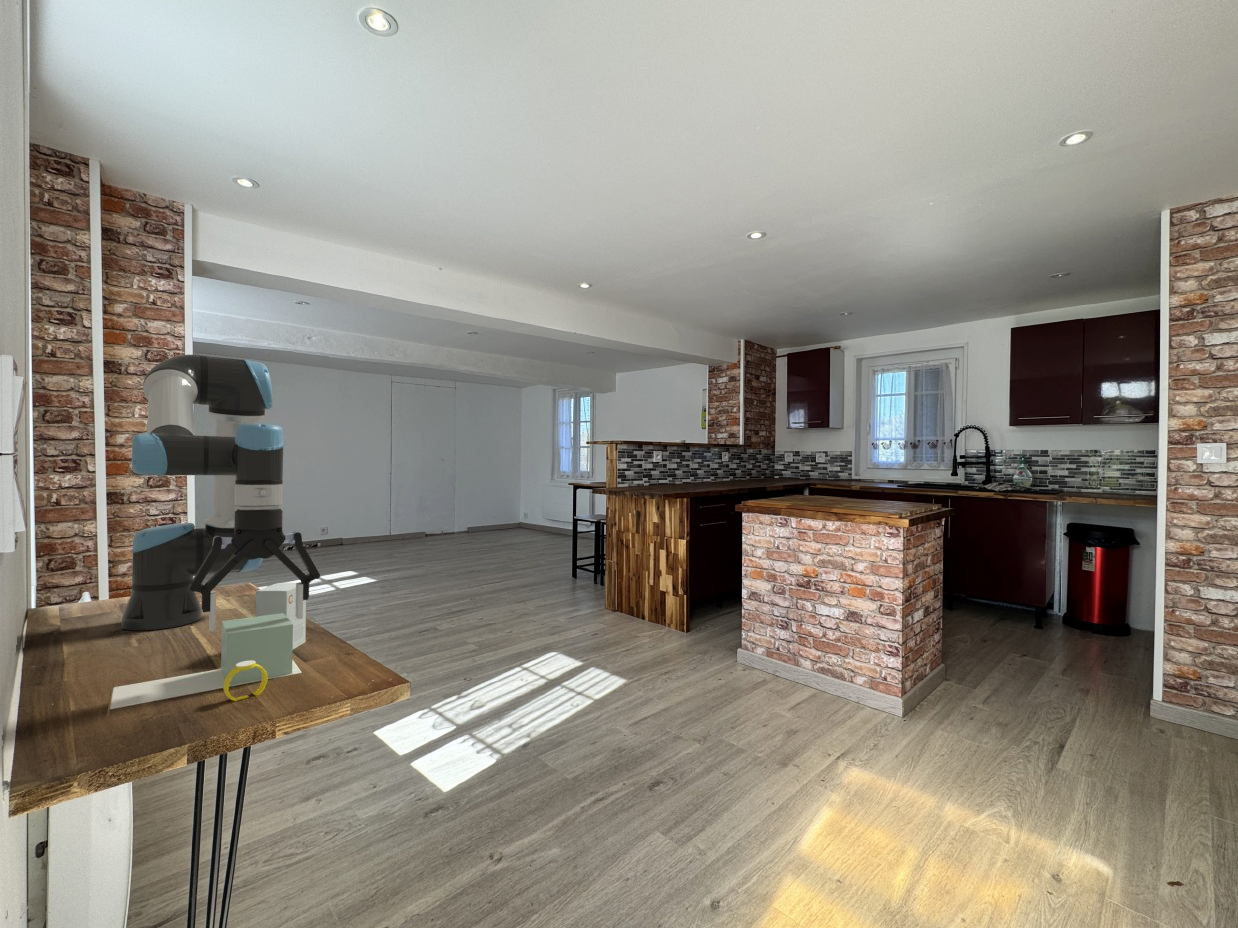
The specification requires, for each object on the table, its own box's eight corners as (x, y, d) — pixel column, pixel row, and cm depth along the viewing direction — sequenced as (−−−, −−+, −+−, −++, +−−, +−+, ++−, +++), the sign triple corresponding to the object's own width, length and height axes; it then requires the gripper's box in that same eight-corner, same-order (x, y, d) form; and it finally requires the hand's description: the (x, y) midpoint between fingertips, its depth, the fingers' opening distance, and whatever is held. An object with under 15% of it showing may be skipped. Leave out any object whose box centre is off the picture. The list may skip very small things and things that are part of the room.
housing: (221, 669, 107) (221, 620, 107) (282, 658, 113) (283, 612, 113) (226, 685, 99) (227, 633, 99) (292, 673, 106) (293, 624, 106)
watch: (228, 708, 92) (226, 671, 92) (222, 703, 94) (220, 667, 93) (270, 694, 96) (267, 659, 96) (263, 690, 98) (261, 655, 98)
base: (113, 688, 98) (113, 685, 98) (290, 658, 115) (290, 655, 115) (109, 710, 89) (110, 706, 89) (301, 674, 106) (302, 670, 106)
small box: (276, 642, 124) (277, 582, 125) (306, 642, 125) (307, 582, 125) (253, 655, 116) (255, 590, 116) (286, 655, 117) (287, 590, 117)
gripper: (174, 511, 96) (172, 640, 95) (337, 506, 111) (336, 616, 111) (173, 509, 102) (171, 630, 101) (328, 504, 117) (326, 609, 117)
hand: (257, 623), depth 106 cm, fingers open, 13 cm apart
